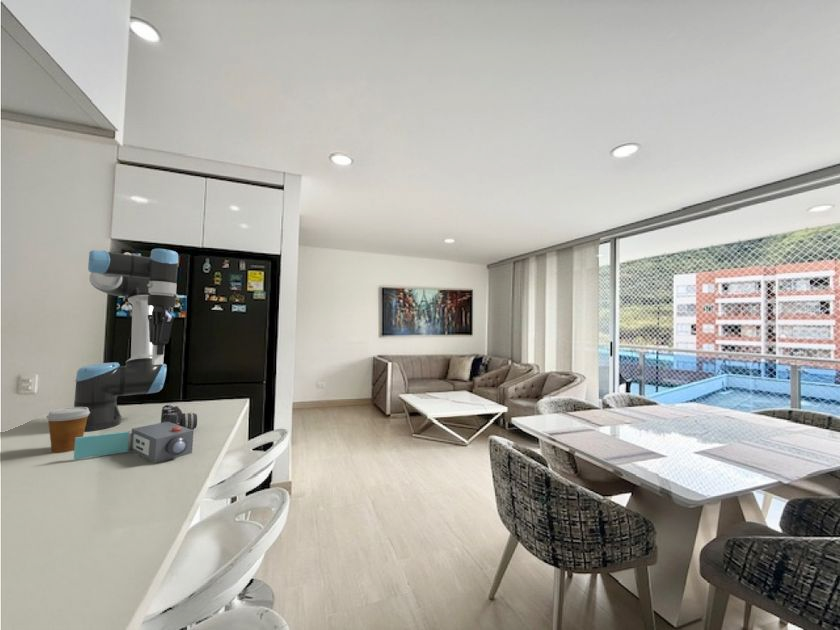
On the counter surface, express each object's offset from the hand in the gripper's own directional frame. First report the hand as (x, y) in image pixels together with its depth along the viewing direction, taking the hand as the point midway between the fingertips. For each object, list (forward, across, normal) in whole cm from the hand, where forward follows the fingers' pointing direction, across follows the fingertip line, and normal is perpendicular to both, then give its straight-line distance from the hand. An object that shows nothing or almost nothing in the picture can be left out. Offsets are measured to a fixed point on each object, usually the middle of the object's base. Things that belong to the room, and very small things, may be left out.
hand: (157, 364), depth 114 cm
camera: (+27, -3, +10) cm, 29 cm away
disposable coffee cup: (+27, -14, -17) cm, 35 cm away
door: (+26, +1, -13) cm, 29 cm away
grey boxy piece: (+26, +12, -2) cm, 29 cm away
